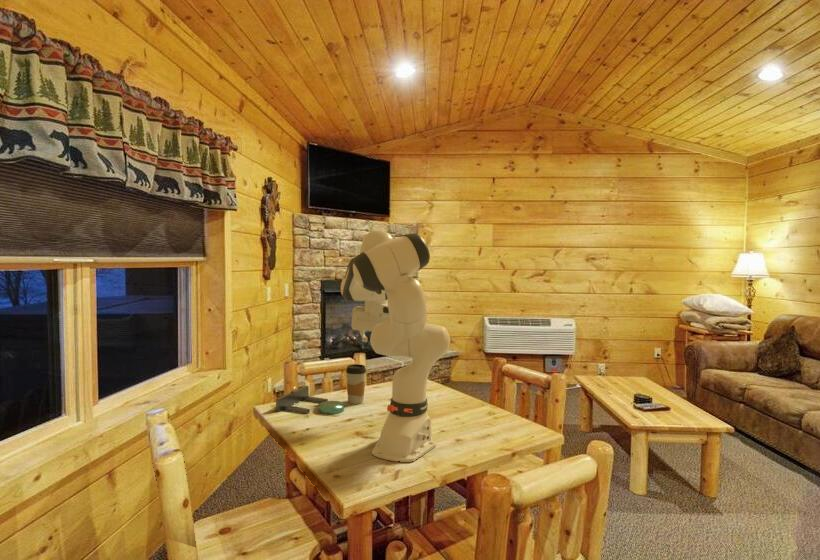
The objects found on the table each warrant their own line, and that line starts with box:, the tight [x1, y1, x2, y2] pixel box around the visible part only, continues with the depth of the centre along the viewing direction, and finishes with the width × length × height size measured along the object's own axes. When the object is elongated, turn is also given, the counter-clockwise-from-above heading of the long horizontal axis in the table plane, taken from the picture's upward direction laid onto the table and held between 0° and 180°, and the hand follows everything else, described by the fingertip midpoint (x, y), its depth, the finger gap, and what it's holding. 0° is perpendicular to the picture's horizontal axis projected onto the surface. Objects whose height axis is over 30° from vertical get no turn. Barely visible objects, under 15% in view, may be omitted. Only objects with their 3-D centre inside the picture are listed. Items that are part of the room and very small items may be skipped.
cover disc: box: [317, 400, 345, 416], centre depth 178 cm, size 10×10×2 cm
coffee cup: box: [345, 363, 367, 405], centre depth 188 cm, size 8×8×15 cm
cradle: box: [275, 385, 329, 415], centre depth 182 cm, size 20×13×7 cm, turn 159°
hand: (375, 343), depth 174 cm, fingers open, 8 cm apart
